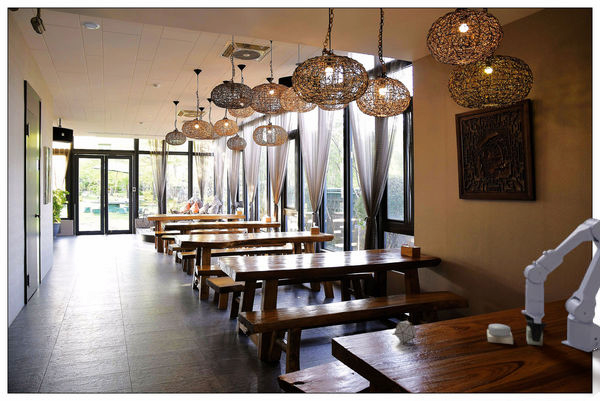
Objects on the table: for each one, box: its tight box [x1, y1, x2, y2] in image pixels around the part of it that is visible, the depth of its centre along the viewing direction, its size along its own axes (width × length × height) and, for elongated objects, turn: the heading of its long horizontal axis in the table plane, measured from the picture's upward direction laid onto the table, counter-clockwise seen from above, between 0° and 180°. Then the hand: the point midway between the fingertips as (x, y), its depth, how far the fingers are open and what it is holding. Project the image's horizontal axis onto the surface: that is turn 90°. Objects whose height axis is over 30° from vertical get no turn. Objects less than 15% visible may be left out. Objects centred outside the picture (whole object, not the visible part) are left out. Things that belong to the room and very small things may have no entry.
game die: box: [391, 318, 419, 346], centre depth 159 cm, size 9×8×10 cm
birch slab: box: [486, 328, 514, 345], centre depth 161 cm, size 8×8×2 cm
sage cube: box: [525, 325, 544, 346], centre depth 157 cm, size 4×4×5 cm
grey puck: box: [488, 323, 511, 337], centre depth 161 cm, size 7×7×2 cm
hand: (534, 337), depth 157 cm, fingers open, 7 cm apart
